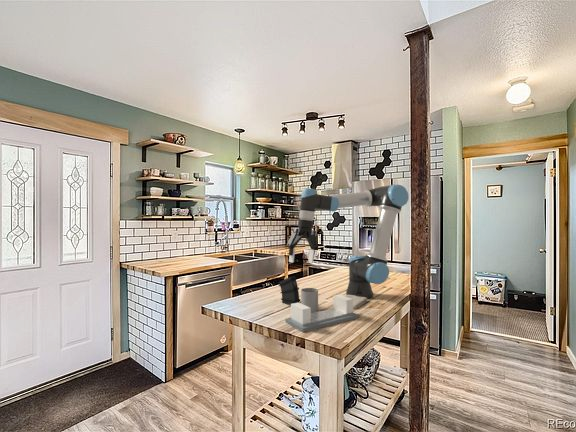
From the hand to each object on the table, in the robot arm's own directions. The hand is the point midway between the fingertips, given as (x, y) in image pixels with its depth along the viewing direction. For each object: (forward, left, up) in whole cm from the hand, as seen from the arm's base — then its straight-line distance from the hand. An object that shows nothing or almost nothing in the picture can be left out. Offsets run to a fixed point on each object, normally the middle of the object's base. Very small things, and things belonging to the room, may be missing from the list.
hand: (301, 262), depth 148 cm
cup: (-3, +4, -23) cm, 24 cm away
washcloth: (-28, +6, -24) cm, 37 cm away
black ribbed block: (0, -10, -23) cm, 26 cm away
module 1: (+13, +18, -21) cm, 30 cm away
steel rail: (+1, +18, -22) cm, 28 cm away
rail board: (0, +18, -23) cm, 29 cm away
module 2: (-12, +18, -21) cm, 30 cm away
